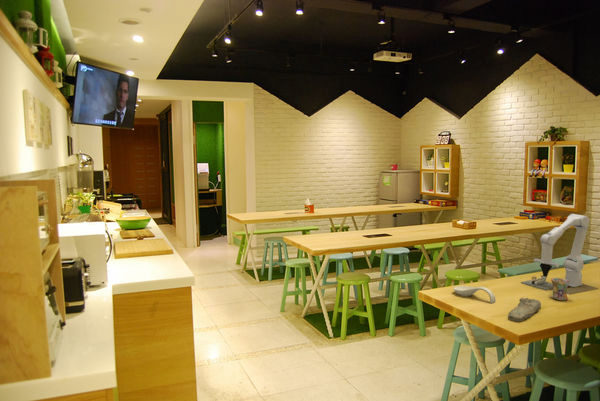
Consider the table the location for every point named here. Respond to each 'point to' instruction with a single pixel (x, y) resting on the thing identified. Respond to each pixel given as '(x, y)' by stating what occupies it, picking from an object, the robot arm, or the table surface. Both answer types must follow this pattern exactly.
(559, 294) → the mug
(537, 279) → the base
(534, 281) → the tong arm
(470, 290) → the spoon rest
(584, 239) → the robot arm
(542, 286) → the mat
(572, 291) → the table surface
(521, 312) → the elongated rock
